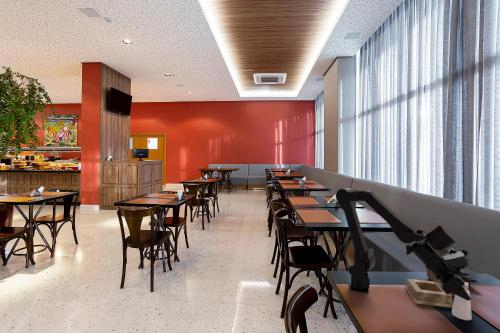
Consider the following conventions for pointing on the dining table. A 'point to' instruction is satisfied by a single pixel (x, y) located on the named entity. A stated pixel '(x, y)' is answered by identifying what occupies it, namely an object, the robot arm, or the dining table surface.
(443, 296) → the socket holder
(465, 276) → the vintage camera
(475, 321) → the dining table surface
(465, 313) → the pepper shaker
